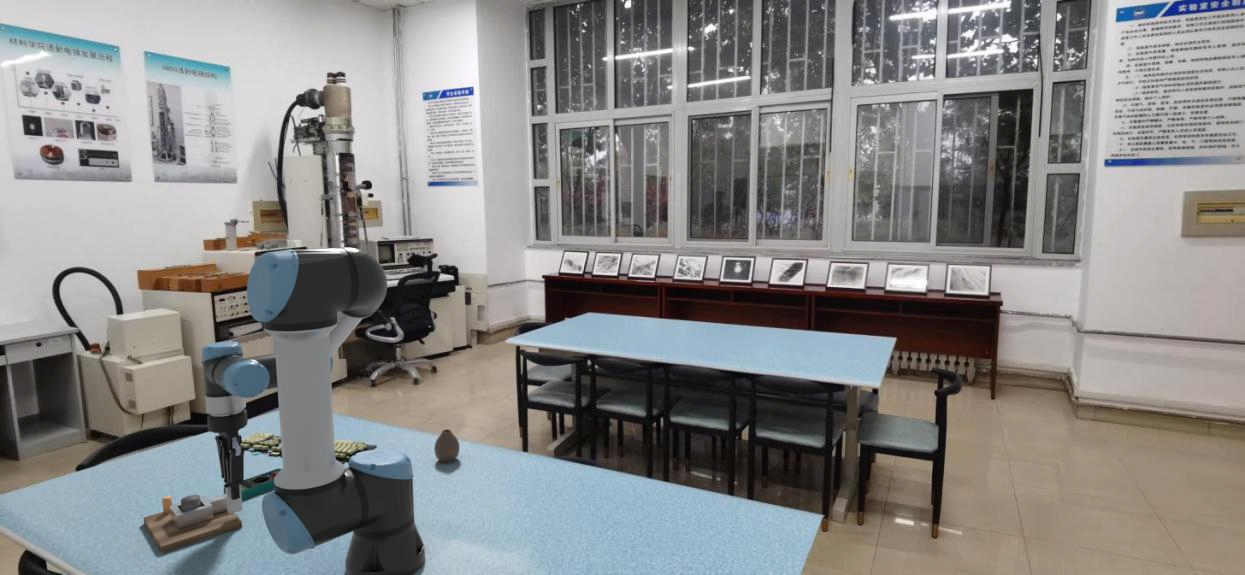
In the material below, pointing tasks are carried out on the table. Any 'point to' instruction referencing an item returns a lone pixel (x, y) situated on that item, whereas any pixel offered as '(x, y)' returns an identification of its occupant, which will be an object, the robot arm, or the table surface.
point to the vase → (446, 446)
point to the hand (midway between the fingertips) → (235, 510)
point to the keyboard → (341, 447)
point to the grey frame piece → (198, 511)
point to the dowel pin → (167, 504)
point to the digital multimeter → (258, 484)
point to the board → (174, 538)
